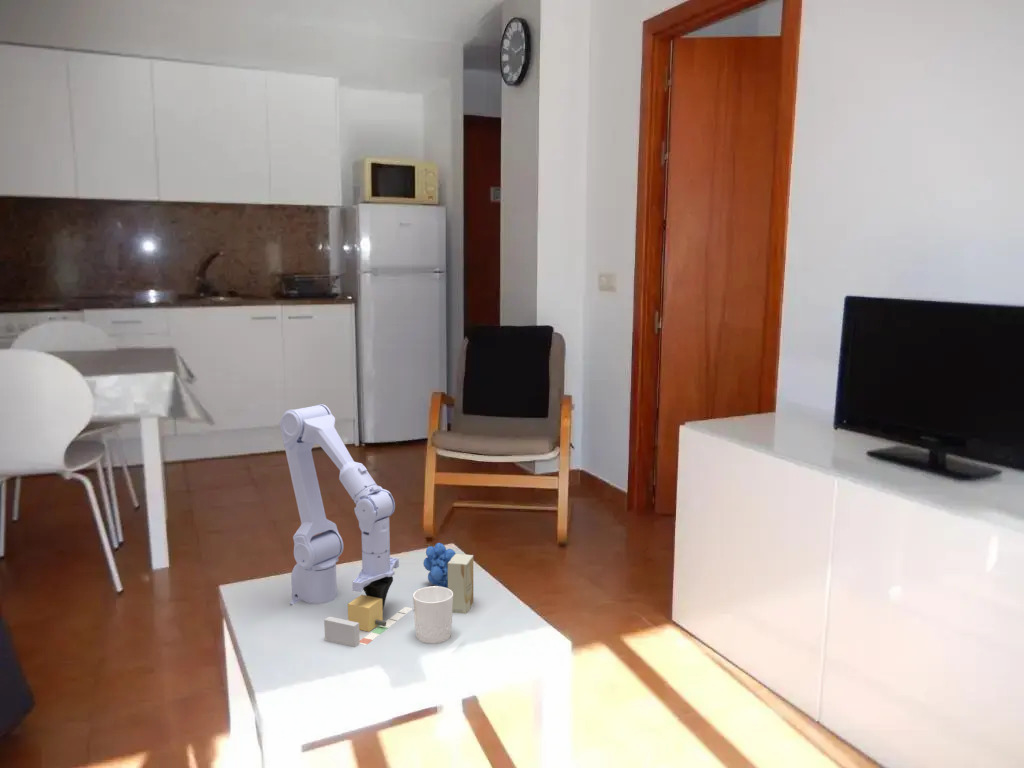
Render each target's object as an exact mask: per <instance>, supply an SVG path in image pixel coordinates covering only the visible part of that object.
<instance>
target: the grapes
mask: <svg viewBox="0 0 1024 768" xmlns="http://www.w3.org/2000/svg"><path fill="white" fill-rule="evenodd" d="M425 554H426V557H425V558H424V560H423V567H424V569H425V570H426V571H428V574H427V580H428V582H429V583H430V584H432V585H434V586H439V587H445V588H448V562H449V561H450V560H451V558H452V557H453V556H454V555H455V554H457V553H456V551H455V550H453V549H451V548H446V545H444V544H443V543H441V542H437V543H435V545H434V546H428V547H426V549H425Z"/></svg>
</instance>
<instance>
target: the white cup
mask: <svg viewBox="0 0 1024 768" xmlns="http://www.w3.org/2000/svg"><path fill="white" fill-rule="evenodd" d="M412 599H413V602H412V603H413V614H414V615H413V616H414V617H413V618H414V628H415V637H416V639H417V640H418V641H419V642H422V643H425V644H439V643H443V642H446V641H447V640H448V639H450V637H451V630H452V625H453V624H452V623H453V613H452V609H453V592H452V591H451V590H450V589H448V588H445V587H439V586H437V585H434V586H433V585H432V586H425V587H422V588H419V589H416V591H414V592H413V594H412Z"/></svg>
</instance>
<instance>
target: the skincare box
mask: <svg viewBox="0 0 1024 768" xmlns="http://www.w3.org/2000/svg"><path fill="white" fill-rule="evenodd" d="M448 589H450V590H451V591H452V592H453V609H452V614H453V613H454V614H462V615H463V614H465V615H467V614H468V613H469V611H470V609H471V607H472V606H473V604H474V603H475V602H474V554H461V553H456V554H455V555H454V556H453V557H452V558H451V560H450V561H449V562H448Z"/></svg>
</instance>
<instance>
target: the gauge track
mask: <svg viewBox="0 0 1024 768" xmlns="http://www.w3.org/2000/svg"><path fill="white" fill-rule="evenodd" d="M412 610H414V607H413V608H412V607H407V606H404V607H403V608H402V609H400V610H398V611H397V612H396V613H395V614H394V615H392V616H391V617H389V618H388V619H386V620H385V621H386V626H380V625H378V626H376V627H375V628H374V629H372V630H371V631H370V632H369V633H368V634H367V635H366V636H364V637H363V638H361V639H360V630H359V623H357V622H353V621H348V619H344V618H338V617H333V616H328V617H326V618H325V619H324V620H323V621H324V623H323V624H324V641H325V642H331V643H335V644H340V645H344V646H348V647H349V646H350V647H353V648H357V646H359V645H360V646H361V645H362V646H367V645H368V644H370V643H371V642H372V641H373V640H374V639H376V638H377V637H378V636H380V635H382V634H383V633H384V632H386V631H387V630H388V629H389V628H390V627H391V626H393V625H394V624H395V623H397V622H398V621H399V620H401V619H402V618H403V617H404V616H405V615H407V614H408V613H409V612H411V611H412Z"/></svg>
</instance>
